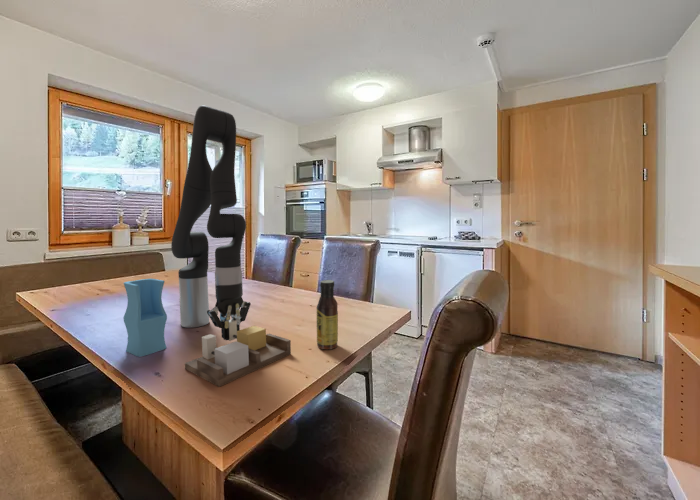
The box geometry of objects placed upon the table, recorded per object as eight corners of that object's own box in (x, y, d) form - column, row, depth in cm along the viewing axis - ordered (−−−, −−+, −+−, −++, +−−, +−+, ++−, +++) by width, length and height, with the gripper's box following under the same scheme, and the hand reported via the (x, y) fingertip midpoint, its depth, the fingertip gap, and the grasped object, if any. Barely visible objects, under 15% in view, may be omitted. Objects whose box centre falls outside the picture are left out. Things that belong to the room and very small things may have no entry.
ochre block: (219, 341, 95) (218, 322, 95) (237, 335, 100) (236, 317, 99) (248, 352, 87) (247, 332, 86) (266, 345, 92) (265, 326, 91)
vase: (139, 357, 88) (135, 285, 86) (125, 351, 92) (121, 282, 90) (168, 347, 94) (164, 280, 93) (154, 342, 99) (150, 278, 97)
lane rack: (185, 368, 81) (184, 353, 81) (256, 342, 99) (256, 329, 99) (218, 386, 72) (218, 369, 72) (290, 353, 90) (290, 340, 90)
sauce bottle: (316, 342, 98) (316, 278, 96) (337, 342, 99) (337, 278, 97) (316, 351, 92) (315, 283, 90) (338, 350, 92) (338, 282, 90)
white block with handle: (196, 359, 83) (195, 338, 83) (217, 351, 88) (216, 332, 87) (227, 374, 75) (226, 351, 75) (248, 365, 80) (248, 343, 79)
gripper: (241, 276, 103) (243, 329, 105) (199, 283, 92) (201, 342, 93) (256, 279, 98) (257, 334, 100) (214, 287, 87) (216, 348, 89)
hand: (230, 337), depth 97 cm, fingers closed on ochre block, 2 cm apart
